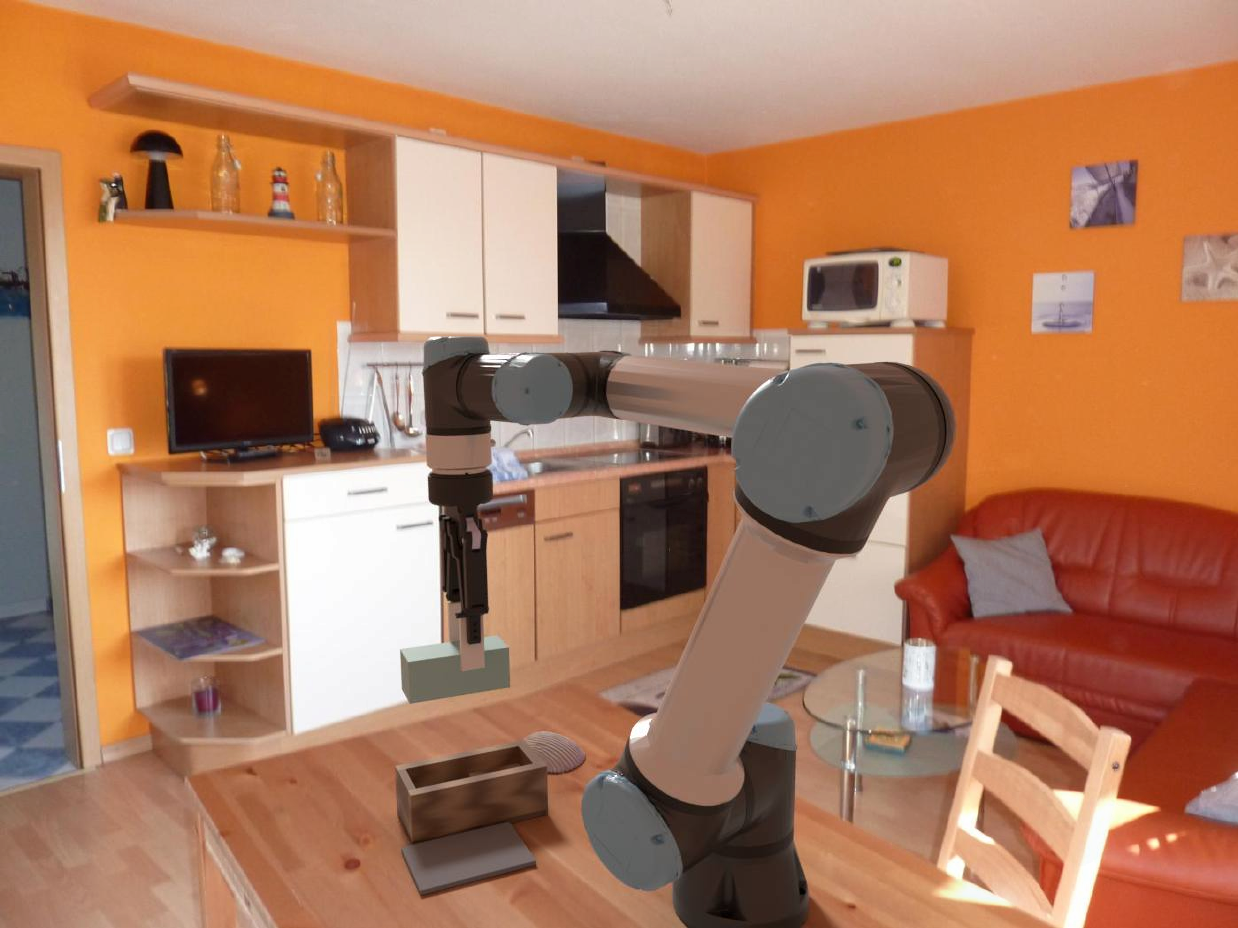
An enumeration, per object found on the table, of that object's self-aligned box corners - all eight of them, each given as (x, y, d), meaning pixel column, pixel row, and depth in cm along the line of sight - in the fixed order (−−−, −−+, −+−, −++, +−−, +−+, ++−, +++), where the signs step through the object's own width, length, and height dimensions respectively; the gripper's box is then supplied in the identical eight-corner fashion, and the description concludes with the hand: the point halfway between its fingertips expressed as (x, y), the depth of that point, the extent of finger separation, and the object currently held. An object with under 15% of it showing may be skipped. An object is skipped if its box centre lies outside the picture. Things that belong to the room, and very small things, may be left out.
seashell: (515, 726, 144) (578, 711, 144) (524, 758, 145) (586, 744, 145) (510, 754, 134) (577, 738, 134) (518, 789, 134) (585, 773, 134)
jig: (525, 784, 131) (524, 739, 130) (548, 814, 123) (547, 765, 122) (397, 813, 123) (395, 765, 122) (412, 846, 115) (410, 795, 114)
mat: (536, 864, 111) (535, 860, 111) (420, 895, 105) (420, 890, 105) (509, 825, 120) (509, 821, 120) (401, 851, 114) (401, 847, 114)
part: (498, 673, 115) (497, 635, 115) (510, 687, 111) (509, 647, 110) (401, 689, 111) (400, 648, 110) (409, 703, 106) (408, 661, 105)
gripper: (513, 476, 101) (519, 680, 104) (471, 458, 117) (477, 635, 120) (445, 481, 98) (453, 691, 101) (412, 462, 114) (420, 643, 117)
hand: (466, 660), depth 111 cm, fingers closed on part, 5 cm apart
